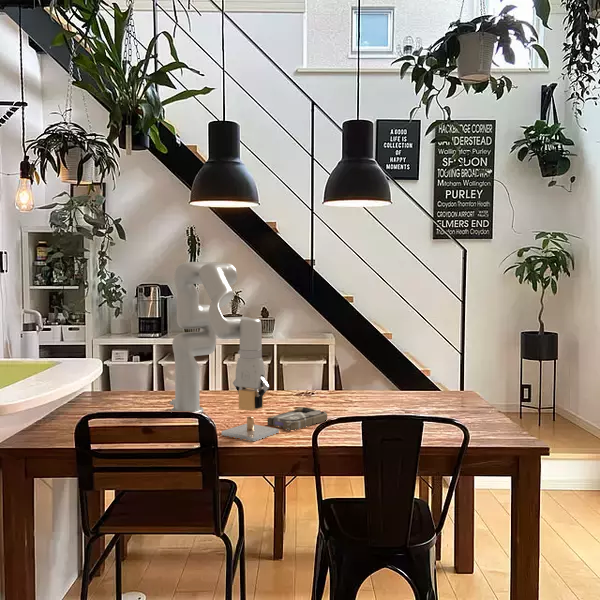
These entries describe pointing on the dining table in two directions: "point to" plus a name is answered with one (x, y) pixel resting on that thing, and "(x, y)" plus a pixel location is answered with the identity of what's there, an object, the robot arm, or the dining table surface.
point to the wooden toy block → (248, 399)
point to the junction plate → (250, 431)
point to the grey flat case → (298, 418)
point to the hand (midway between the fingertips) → (251, 406)
